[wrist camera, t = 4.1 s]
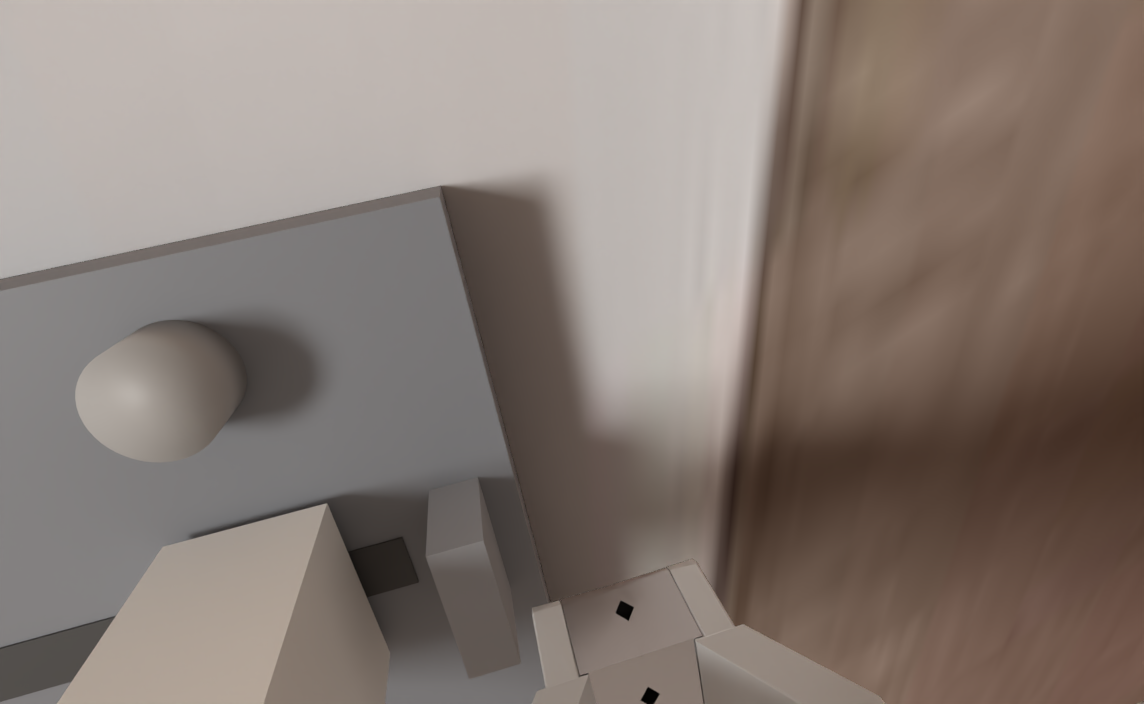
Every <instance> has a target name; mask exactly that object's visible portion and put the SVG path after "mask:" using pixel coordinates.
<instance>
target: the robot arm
mask: <svg viewBox="0 0 1144 704" xmlns="http://www.w3.org/2000/svg"><path fill="white" fill-rule="evenodd" d="M560 600H561V603H560ZM560 600H559V601H555V602H551V603H548V604H544V605H540V606H537V607H533V608H532V617H533V623H534V628H535V634H536V639H537V644H538V650H539V655H540V661H541V666H542V672H543V677H544V682H545V688H544V689H541V690H539V691H537V692H536V695H535V697H534V699H533V702H532V704H885V703H884V701H883V700H882V699H881V698H880V696H878V695H876V694H874V693H872V692H870V691H869V690H867V689H865V688H863V687H861V686H859V685H857V684H855V683H853V682H852V681H850V680H848V679H846V678H844V677H842V676H840V675H838V674H836V673H835V672H833V671H831V670H829V669H827V668H825V667H823V666H821V665H819V664H818V663H816V662H814V661H812V660H810V659H808V658H806V657H804V656H803V655H801V654H799V653H797V652H795V651H793V650H791V649H789V648H787V647H786V646H784V645H782V644H780V643H778V642H776V641H774V640H772V639H770V638H769V637H767V636H765V635H763V634H761V633H759V632H757V631H755V630H753V629H752V628H750V627H748V626H746V625H744V624H742V625H739V626H735V625H734V624H733V622H732V620H731V619H730V617H729V615H728V614H727V612H726V610H725V609H724V607H723V605H722V604H721V602H720V600H719V598H718V597H717V595H716V593H715V592H714V590H713V588H712V587H711V585H710V583H709V582H708V580H707V578H706V577H705V575H704V573H703V572H702V570H701V568H700V567H699V565H698V563H697V562H696V561H695V560H693V559H690V560H687V561H683V562H680V563H677V564H674V565H671V566H668V567H666V568H662V569H659V570H656V571H653V572H650V573H646V574H643V575H640V576H637V577H634V578H631V579H628V580H624V581H621V582H618V583H615V584H613V585H609V586H606V587H602V588H599V589H595V590H592V591H588V592H584V593H581V594H577V595H574V596H570V597H567V598H563V599H560ZM561 604H562V606H561ZM562 608H563V610H562ZM563 612H564V614H563ZM564 616H565V617H564ZM565 620H566V621H565ZM566 624H567V625H566ZM1136 704H1144V701H1141V702H1139V703H1136Z"/></svg>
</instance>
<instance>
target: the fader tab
mask: <svg viewBox="0 0 1144 704" xmlns="http://www.w3.org/2000/svg"><path fill="white" fill-rule="evenodd" d="M389 661H390V651H389V649H388V646H387V644H386V642H385V639H384V637H383V635H382V632H381V630H380V627H379V625H378V623H377V620H376V618H375V616H374V613H373V611H372V608H371V606H370V604H369V601H368V599H367V597H366V594H365V592H364V589H363V587H362V585H361V582H360V580H359V578H358V575H357V573H356V570H355V568H354V566H353V563H352V561H351V559H350V556H349V554H348V551H347V549H346V547H345V544H344V542H343V540H342V537H341V535H340V532H339V530H338V528H337V525H336V523H335V521H334V518H333V516H332V513H331V511H330V509H329V506H328V504H327V503H326V504H322V505H318V506H314V507H311V508H307V509H303V510H299V511H296V512H292V513H288V514H284V515H281V516H277V517H273V518H269V519H265V520H262V521H258V522H254V523H250V524H247V525H243V526H239V527H235V528H232V529H228V530H224V531H220V532H217V533H213V534H209V535H205V536H202V537H198V538H194V539H190V540H187V541H183V542H179V543H175V544H171V545H168V546H164V547H162V548H161V550H160V551H159V553H158V554H157V556H156V557H155V559H154V560H153V562H152V563H151V565H150V566H149V568H148V569H147V571H146V572H145V574H144V575H143V577H142V578H141V580H140V581H139V583H138V584H137V585H136V587H135V588H134V590H133V591H132V593H131V594H130V596H129V597H128V599H127V600H126V602H125V603H124V605H123V606H122V608H121V609H120V611H119V612H118V614H117V615H116V617H115V618H114V620H113V621H112V623H111V624H110V626H109V627H108V629H107V630H106V631H105V633H104V634H103V636H102V637H101V639H100V640H99V642H98V643H97V645H96V646H95V648H94V649H93V651H92V652H91V654H90V655H89V657H88V658H87V660H86V661H85V663H84V664H83V666H82V667H81V669H80V670H79V672H78V673H77V674H76V676H75V677H74V679H73V680H72V682H71V683H70V685H69V686H68V688H67V689H66V691H65V692H64V694H63V695H62V697H61V698H60V700H59V701H58V703H57V704H385V698H386V689H387V679H388V670H389Z"/></svg>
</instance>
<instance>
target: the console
mask: <svg viewBox="0 0 1144 704" xmlns="http://www.w3.org/2000/svg"><path fill="white" fill-rule="evenodd" d="M326 503H327V504H328V506H329V509H330V511H331V513H332V516H333V518H334V521H335V523H336V525H337V528H338V530H339V532H340V535H341V537H342V540H343V542H344V544H345V547H346V549H347V551H348V554H349V556H350V559H351V561H352V563H353V566H354V568H355V570H356V573H357V575H358V578H359V580H360V582H361V585H362V587H363V589H364V592H365V594H366V597H367V599H368V601H369V604H370V606H371V608H372V611H373V613H374V616H375V618H376V620H377V623H378V625H379V627H380V630H381V632H382V635H383V637H384V639H385V642H386V644H387V646H388V649H389V651H390V661H389V670H388V679H387V689H386V698H385V704H532V702H533V699H534V697H535V695H536V692H537V691H539V690H541V689H544V688H545V682H544V677H543V672H542V666H541V661H540V655H539V650H538V644H537V639H536V634H535V628H534V623H533V617H532V608H533V607H537V606H540V605H544V604H548V603H550V599H549V595H548V591H547V588H546V584H545V580H544V576H543V572H542V569H541V565H540V561H539V557H538V553H537V550H536V546H535V542H534V538H533V534H532V531H531V527H530V523H529V519H528V515H527V512H526V508H525V504H524V500H523V496H522V493H521V489H520V485H519V481H518V477H517V474H516V470H515V466H514V462H513V458H512V455H511V451H510V447H509V443H508V440H507V436H506V432H505V428H504V424H503V421H502V417H501V413H500V409H499V405H498V402H497V398H496V394H495V390H494V386H493V383H492V379H491V375H490V371H489V367H488V364H487V360H486V356H485V352H484V348H483V345H482V341H481V337H480V333H479V329H478V326H477V322H476V318H475V314H474V310H473V307H472V303H471V299H470V295H469V291H468V288H467V284H466V280H465V276H464V272H463V269H462V265H461V261H460V257H459V254H458V250H457V246H456V242H455V238H454V235H453V231H452V227H451V223H450V219H449V216H448V212H447V208H446V204H445V200H444V197H443V193H442V189H441V186H437V187H432V188H428V189H423V190H418V191H413V192H409V193H404V194H399V195H395V196H390V197H385V198H381V199H376V200H371V201H366V202H362V203H357V204H352V205H348V206H343V207H338V208H333V209H329V210H324V211H319V212H315V213H310V214H305V215H300V216H296V217H291V218H286V219H282V220H277V221H272V222H267V223H263V224H258V225H253V226H249V227H244V228H239V229H234V230H230V231H225V232H220V233H216V234H211V235H206V236H202V237H197V238H192V239H187V240H183V241H178V242H173V243H169V244H164V245H159V246H154V247H150V248H145V249H140V250H136V251H131V252H126V253H121V254H117V255H112V256H107V257H103V258H98V259H93V260H88V261H84V262H79V263H74V264H70V265H65V266H60V267H55V268H51V269H46V270H41V271H37V272H32V273H27V274H23V275H18V276H13V277H8V278H4V279H0V704H57V703H58V701H59V700H60V698H61V697H62V695H63V694H64V692H65V691H66V689H67V688H68V686H69V685H70V683H71V682H72V680H73V679H74V677H75V676H76V674H77V673H78V672H79V670H80V669H81V667H82V666H83V664H84V663H85V661H86V660H87V658H88V657H89V655H90V654H91V652H92V651H93V649H94V648H95V646H96V645H97V643H98V642H99V640H100V639H101V637H102V636H103V634H104V633H105V631H106V630H107V629H108V627H109V626H110V624H111V623H112V621H113V620H114V618H115V617H116V615H117V614H118V612H119V611H120V609H121V608H122V606H123V605H124V603H125V602H126V600H127V599H128V597H129V596H130V594H131V593H132V591H133V590H134V588H135V587H136V585H137V584H138V583H139V581H140V580H141V578H142V577H143V575H144V574H145V572H146V571H147V569H148V568H149V566H150V565H151V563H152V562H153V560H154V559H155V557H156V556H157V554H158V553H159V551H160V550H161V548H162V547H164V546H168V545H171V544H175V543H179V542H183V541H187V540H190V539H194V538H198V537H202V536H205V535H209V534H213V533H217V532H220V531H224V530H228V529H232V528H235V527H239V526H243V525H247V524H250V523H254V522H258V521H262V520H265V519H269V518H273V517H277V516H281V515H284V514H288V513H292V512H296V511H299V510H303V509H307V508H311V507H314V506H318V505H322V504H326Z"/></svg>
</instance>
